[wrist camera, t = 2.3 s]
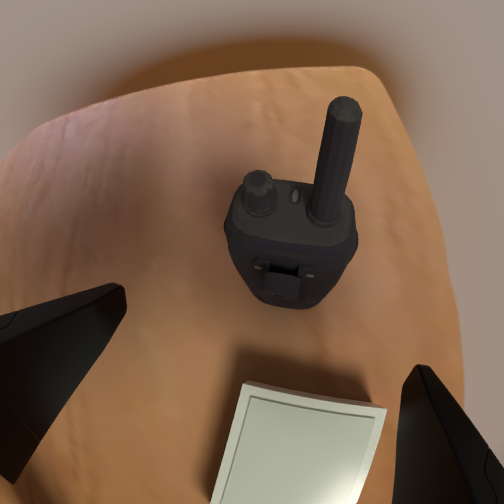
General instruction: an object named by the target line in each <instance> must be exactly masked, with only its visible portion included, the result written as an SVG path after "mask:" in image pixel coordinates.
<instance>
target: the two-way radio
mask: <svg viewBox="0 0 504 504" xmlns="http://www.w3.org/2000/svg"><path fill="white" fill-rule="evenodd" d="M362 114H363V113H362V111H361V108H360V106H359V104H358V102H357V101H355V100H354V99H353V98H350V97H347V96H340V97H337V98H335V99H334V100H333V101H332V102H331V103H330V105H329V107H328V110H327V116H326V121H325V126H324V131H323V136H322V141H321V147H320V151H319V156H318V161H317V167H316V173H315V179H314V184H309V183H302V182H295V181H287V180H276V179H272V177H271V175H270V174H269V173H267V172H265V171H261V170H255V171H252V172H249V173H248V174H247V175H246V176H245V177H244V181H243V184H242V185H240V186H239V188H238V189H237V191H236V192H235V194H234V197H233V199H232V202H231V205H230V208H229V211H228V215H227V217H226V219H225V222H224V231H225V234H226V237H227V241H228V249H229V252H230V255H231V258H232V260H233V263H234V265H235V267H236V269H237V270H238V272H239V274H240V275H241V277H242V278H243V280H244V281H245V283H246V284H247V286H248V287H249V289H250V290H251V292H252V293H253V295H254V296H255V297H256V298H258V299H259V300H260V301H262V302H264V303H266V304H269V305H273V306H278V307H283V308H291V309H309V308H311V307H314V306H316V305H317V304H318V303H319V302H320V301H321V300H322V299H323V298H324V297H325V296H326V295H327V294H328V293H329V292H330V291H331V290H332V288H333V287H334V286H335V285H336V283H337V282H338V281H339V279H340V277H341V275H342V273H343V271H344V270H345V268H346V266H347V264H348V263H349V262H350V261H351V259H352V258H353V256H354V254H355V252H356V250H357V247H358V233H357V230H356V222H355V210H354V207H353V203H352V201H351V200H350V199H349V198H348V197H347V196H346V195H345V194H344V193H345V189H346V186H347V182H348V178H349V175H350V171H351V167H352V162H353V158H354V153H355V149H356V144H357V139H358V134H359V129H360V124H361V119H362Z"/></svg>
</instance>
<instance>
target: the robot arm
mask: <svg viewBox="0 0 504 504" xmlns="http://www.w3.org/2000/svg"><path fill="white" fill-rule="evenodd" d="M126 311H127V303H126V295H125V289H124V287H123V286H122V285H119V284H116V283H109V284H105V285H102V286H99V287H95V288H92V289H88V290H85V291H82V292H78V293H75V294H71V295H68V296H65V297H61V298H58V299H55V300H51V301H48V302H45V303H41V304H38V305H34V306H31V307H28V308H25V309H21V310H19V311H14V312H11V313H8V314H4V315H1V316H0V475H1V476H2V477H4V478H5V479H6V480H7V481H9V482H10V483H11V484H13V485H14V484H15V482H16V481H17V479H18V477H19V476H20V474H21V472H22V471H23V469H24V467H25V466H26V464H27V463H28V461H29V459H30V458H31V456H32V454H33V453H34V451H35V450H36V448H37V447H38V445H39V443H40V441H41V440H42V438H43V437H44V435H45V434H46V432H47V431H48V429H49V428H50V426H51V425H52V423H53V422H54V420H55V419H56V417H57V416H58V414H59V413H60V411H61V410H62V408H63V407H64V405H65V404H66V402H67V401H68V400H69V398H70V397H71V395H72V394H73V392H74V391H75V389H76V388H77V387H78V385H79V384H80V382H81V381H82V380H83V378H84V377H85V375H86V374H87V373H88V371H89V370H90V368H91V367H92V366H93V364H94V363H95V361H96V360H97V359H98V357H99V356H100V355H101V353H102V352H103V350H104V349H105V347H106V346H107V344H108V342H109V341H110V339H111V337H112V336H113V334H114V332H115V331H116V329H117V327H118V325H119V324H120V322H121V320H122V319H123V317H124V316H125V314H126ZM392 504H504V468H503V466H502V465H501V463H500V462H499V460H498V459H497V458H496V456H495V455H494V453H493V452H492V450H491V449H490V448H489V446H488V444H487V443H486V442H485V440H484V439H483V437H482V436H481V435H480V433H479V432H478V430H477V429H476V427H475V426H474V425H473V423H472V422H471V420H470V419H469V418H468V416H467V415H466V414H465V412H464V411H463V409H462V408H461V407H460V405H459V404H458V403H457V401H456V400H455V399H454V397H453V396H452V395H451V393H450V392H449V391H448V389H447V388H446V387H445V386H444V384H443V383H442V382H441V380H440V379H439V378H438V377H437V375H436V374H435V373H434V371H433V370H432V369H431V368H430V367H429V366H427V365H421V364H417V365H416V366H415V367H414V368H413V369H412V371H411V373H410V374H409V376H408V377H407V379H406V380H405V382H404V384H403V387H402V393H401V403H400V412H399V420H398V428H397V441H396V462H395V476H394V488H393V497H392Z"/></svg>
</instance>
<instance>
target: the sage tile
mask: <svg viewBox="0 0 504 504" xmlns="http://www.w3.org/2000/svg"><path fill="white" fill-rule="evenodd" d="M386 412H387V409H386V408H384V407H382V406H379V405H377V404H375V403H372V402H364V401H357V400H349V399H343V398H336V397H330V396H324V395H318V394H312V393H307V392H302V391H296V390H291V389H287V388H282V387H277V386H273V385H268V384H264V383H260V382H255V381H251V380H248V381H246V382H245V383H243V385H242V389H241V393H240V397H239V400H238V404H237V408H236V412H235V415H234V419H233V423H232V427H231V430H230V434H229V438H228V441H227V445H226V449H225V452H224V456H223V460H222V463H221V467H220V470H219V474H218V477H217V481H216V484H215V488H214V491H213V495H212V498H211V502H210V504H356V503H357V500H358V498H359V495H360V493H361V490H362V488H363V485H364V482H365V480H366V477H367V474H368V471H369V469H370V466H371V463H372V460H373V457H374V454H375V451H376V447H377V444H378V441H379V438H380V434H381V431H382V427H383V424H384V420H385V416H386Z"/></svg>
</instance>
